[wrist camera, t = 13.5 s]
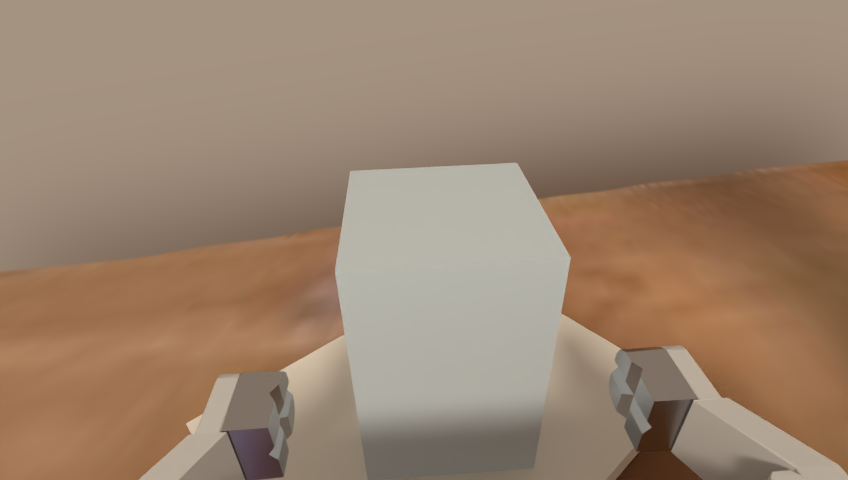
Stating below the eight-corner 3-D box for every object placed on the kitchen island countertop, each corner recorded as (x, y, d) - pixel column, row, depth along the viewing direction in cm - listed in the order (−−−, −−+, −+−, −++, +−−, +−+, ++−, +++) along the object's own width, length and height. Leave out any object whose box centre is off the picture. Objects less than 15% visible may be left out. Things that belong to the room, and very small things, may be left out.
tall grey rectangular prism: (500, 347, 21) (516, 162, 17) (533, 468, 17) (570, 257, 12) (372, 355, 21) (350, 170, 16) (367, 481, 16) (334, 271, 12)
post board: (472, 278, 28) (478, 145, 23) (677, 406, 20) (743, 243, 16) (195, 442, 19) (119, 281, 15) (365, 777, 11) (315, 652, 7)
